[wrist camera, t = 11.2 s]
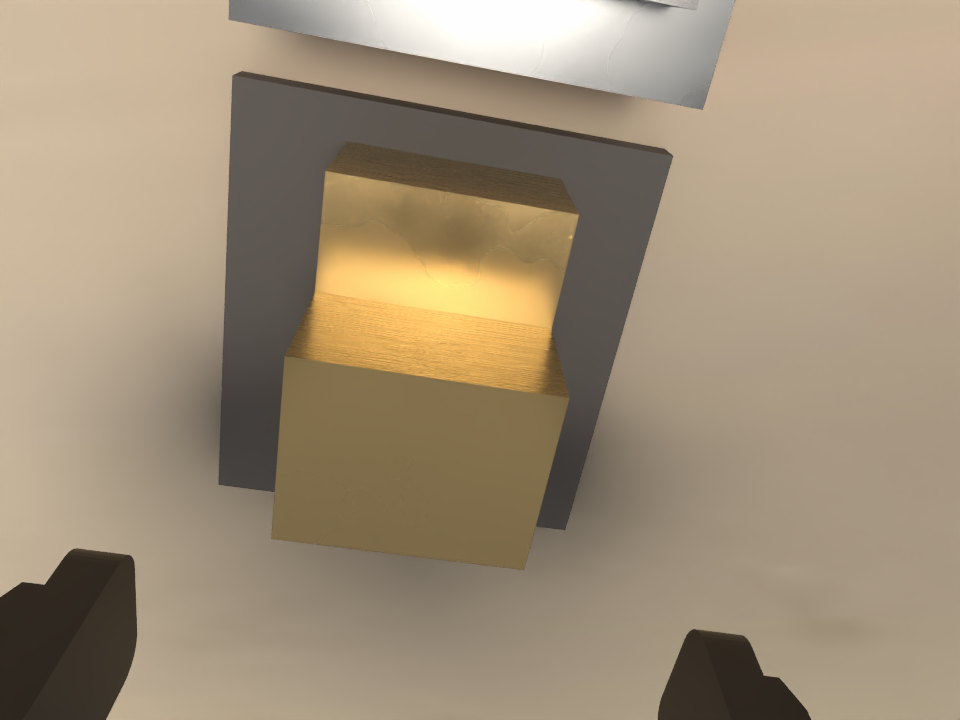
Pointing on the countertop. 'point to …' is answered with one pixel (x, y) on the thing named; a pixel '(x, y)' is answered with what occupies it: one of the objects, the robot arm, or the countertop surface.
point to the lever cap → (426, 361)
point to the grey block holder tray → (531, 37)
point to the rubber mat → (296, 232)
